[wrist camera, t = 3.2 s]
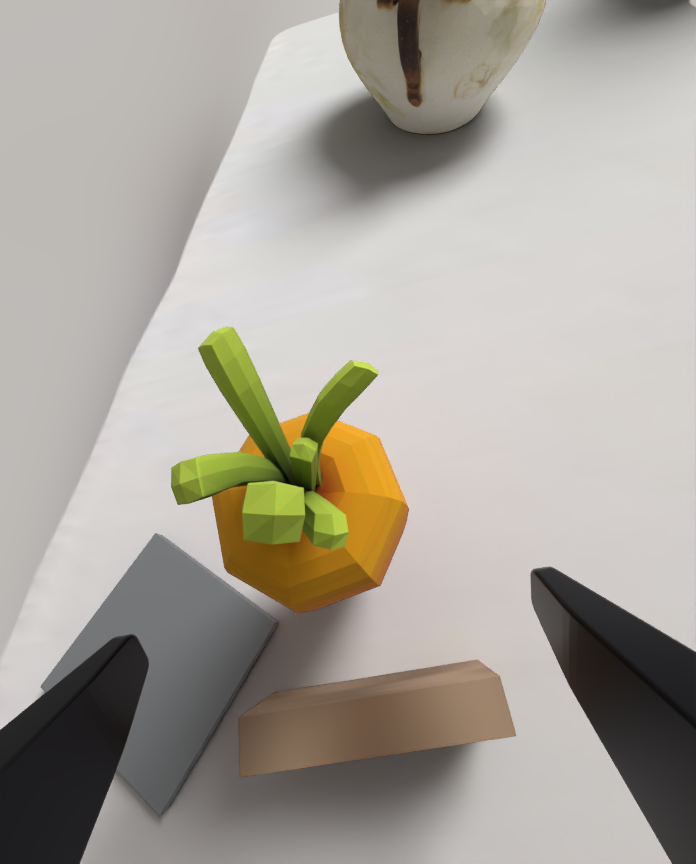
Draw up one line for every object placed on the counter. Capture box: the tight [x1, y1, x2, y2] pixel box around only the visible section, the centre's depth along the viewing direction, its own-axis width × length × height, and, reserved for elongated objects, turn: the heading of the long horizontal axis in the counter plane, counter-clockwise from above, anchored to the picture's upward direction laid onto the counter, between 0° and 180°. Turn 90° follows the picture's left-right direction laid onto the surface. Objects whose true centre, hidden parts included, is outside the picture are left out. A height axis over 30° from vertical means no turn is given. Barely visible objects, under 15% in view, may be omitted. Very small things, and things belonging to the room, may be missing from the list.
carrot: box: [171, 327, 409, 613], centre depth 12 cm, size 5×5×15 cm
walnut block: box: [238, 660, 516, 777], centre depth 14 cm, size 9×2×4 cm, turn 99°
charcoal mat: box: [40, 533, 279, 816], centre depth 17 cm, size 8×8×1 cm
